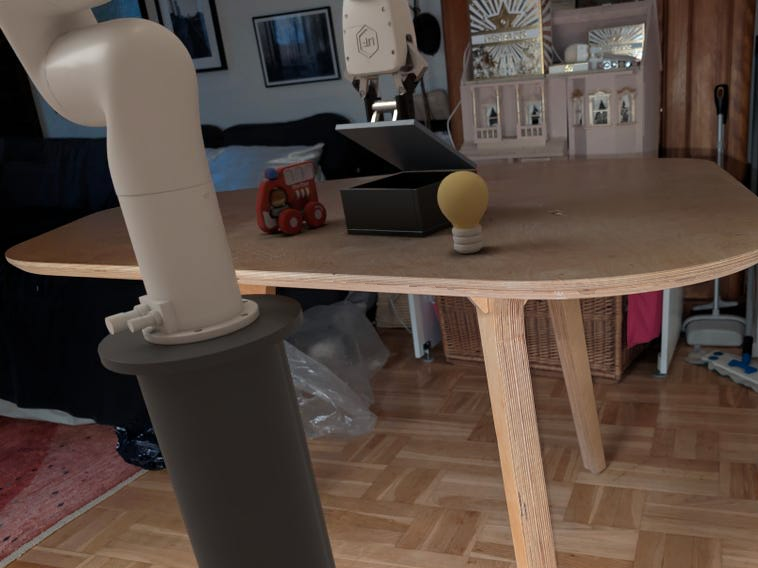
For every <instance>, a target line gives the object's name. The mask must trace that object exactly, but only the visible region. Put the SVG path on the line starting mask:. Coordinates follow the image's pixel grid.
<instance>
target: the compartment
mask: <svg viewBox="0 0 758 568" xmlns="http://www.w3.org/2000/svg"><path fill="white" fill-rule="evenodd" d="M458 171H469V172H473V173H475V174H477V175H478V170H477V169H459V170H414V171H403V170H402V171H400V172H397V173H392V174H390V175H385V176H382V177H379V178H376V179H375V178H374V179H372V180H369V181H364V182H362V183H358V184H353V185H350V186H347V187H344V188H340V189H339V192H340V197H341V203H342V208H343V209H342V210H343V215H344V221H345V227H346V230H347V235H359V236H360V235H362V236H385V237H386V236H387V237H407V238H409V237H410V238H425V237H427V236H429V235H433V234H434V233H437V232H439V231H441V230H445V229H446V228H449V227H451V226H453V224H452V223H451V222H450V221H449V220H448V219H447V218H446V216H445V215H444V214H443V213H442V211H441V209H440V207H439V204H438V199H437V195H438V189H439V186H440V184H441V182H442V181H443V180H444V179H445V178H446V177H447V176H448V175H450V174H452V173H454V172H458Z"/></svg>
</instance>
